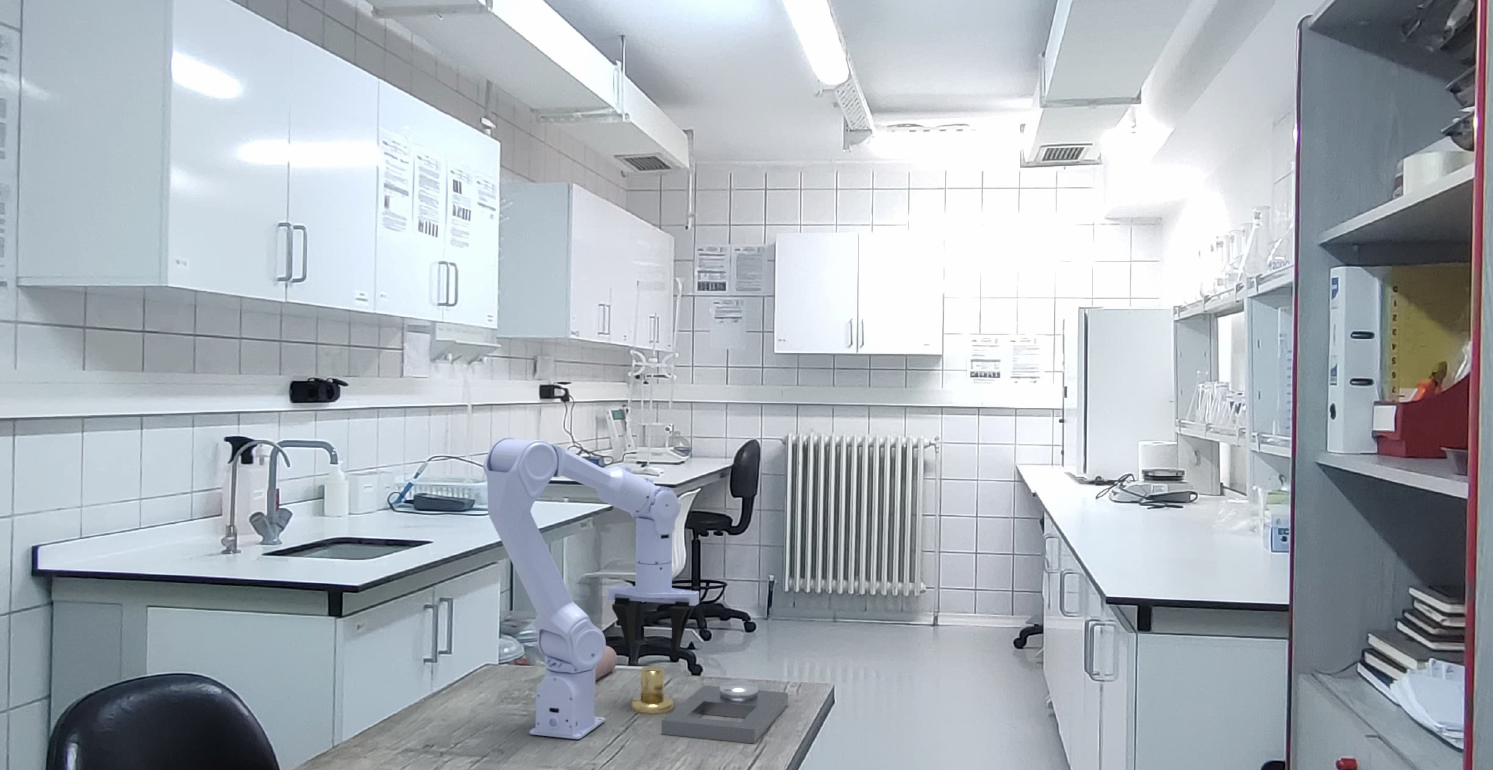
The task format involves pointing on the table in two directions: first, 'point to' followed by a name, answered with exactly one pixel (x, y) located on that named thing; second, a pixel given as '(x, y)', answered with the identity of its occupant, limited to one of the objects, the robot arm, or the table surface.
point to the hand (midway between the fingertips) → (652, 648)
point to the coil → (606, 663)
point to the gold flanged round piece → (652, 693)
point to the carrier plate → (726, 712)
